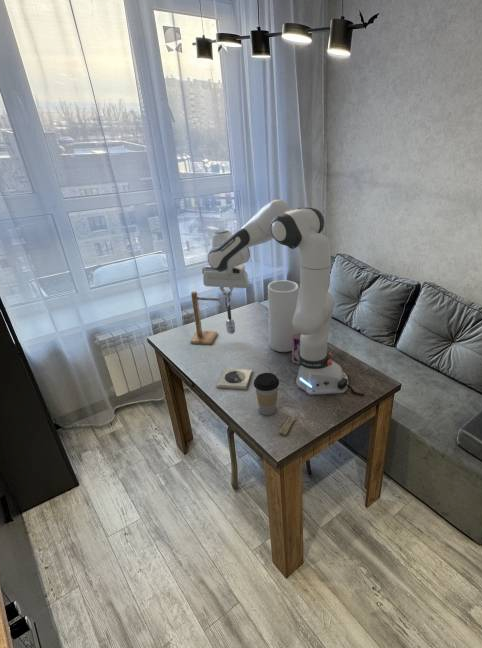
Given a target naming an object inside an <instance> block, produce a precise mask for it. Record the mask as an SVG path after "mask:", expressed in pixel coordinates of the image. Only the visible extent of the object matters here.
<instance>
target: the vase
mask: <svg viewBox="0 0 482 648" xmlns="http://www.w3.org/2000/svg"><path fill="white" fill-rule="evenodd" d="M299 288H300V285H299V284H298V283H296V282H295V281H292V280H287V279H281V280H275V281H274V280H273V281H271V282H269V283H268V285H267V307H268V309H267V310H268V311H267V312H268V313H267V314H268V342H269V347H270V348H271V349H272V350H273V351H276V352H280V353H288V352H289V353H290V352H292V334H300V333H299V332H297V331H296V330H295V328H294V326H293V323H292V320H293V317H294V314H295V310H296V305H297V299H298V294H299Z"/></svg>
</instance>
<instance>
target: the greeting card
mask: <svg viewBox="0 0 482 648" xmlns="http://www.w3.org/2000/svg"><path fill="white" fill-rule="evenodd" d="M300 336H301V334H300V333H299V334H292V351H291V362H292V363H293V364H296V365H299V352H300Z"/></svg>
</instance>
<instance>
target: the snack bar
mask: <svg viewBox="0 0 482 648" xmlns="http://www.w3.org/2000/svg"><path fill="white" fill-rule="evenodd" d="M296 420H297V417H296V416H288V417H287V418H286V420H285V422H284V423H283V425H282V426H281V427H280V429H279V431H278V433H279V434H281V435H283V436H286V435H288V432H289V430H290V429H291V427H292V425H293V424H294V422H295V421H296Z"/></svg>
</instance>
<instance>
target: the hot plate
mask: <svg viewBox="0 0 482 648" xmlns="http://www.w3.org/2000/svg"><path fill="white" fill-rule="evenodd" d="M252 373H253V370H252V369H245V368H243V369H242V368H224V369H223V371H222V373H221V375H220V378H219V379H218V382H217V384H216V386H217V388H218V389H233V390H234V389H235V390H247V388H248V386H249V382H250V380H251V377H252Z"/></svg>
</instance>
